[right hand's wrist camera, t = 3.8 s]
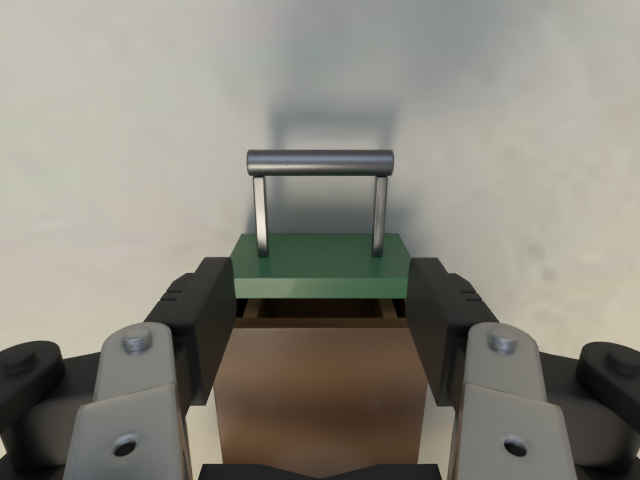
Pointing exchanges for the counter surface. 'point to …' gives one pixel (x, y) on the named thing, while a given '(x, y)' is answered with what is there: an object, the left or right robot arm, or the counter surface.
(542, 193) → the counter surface
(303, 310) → the drawer
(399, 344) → the cabinet
